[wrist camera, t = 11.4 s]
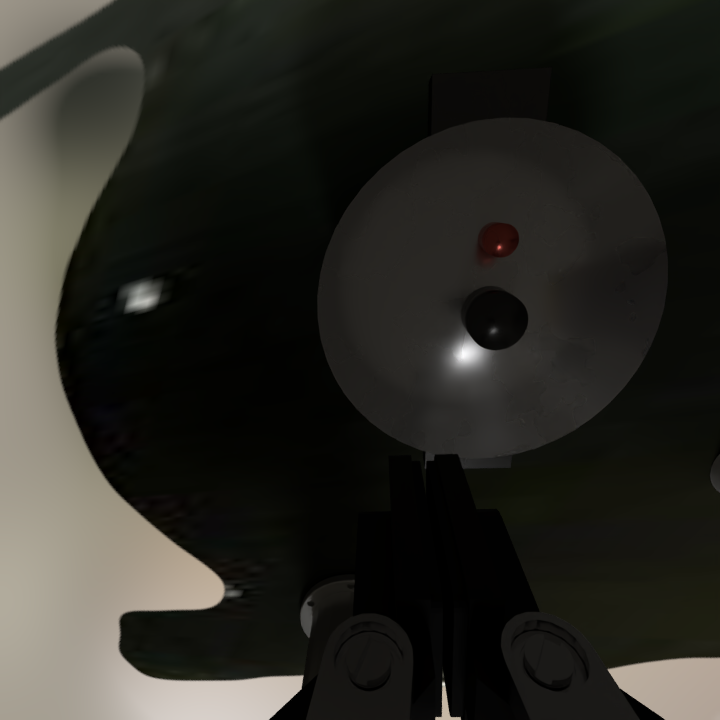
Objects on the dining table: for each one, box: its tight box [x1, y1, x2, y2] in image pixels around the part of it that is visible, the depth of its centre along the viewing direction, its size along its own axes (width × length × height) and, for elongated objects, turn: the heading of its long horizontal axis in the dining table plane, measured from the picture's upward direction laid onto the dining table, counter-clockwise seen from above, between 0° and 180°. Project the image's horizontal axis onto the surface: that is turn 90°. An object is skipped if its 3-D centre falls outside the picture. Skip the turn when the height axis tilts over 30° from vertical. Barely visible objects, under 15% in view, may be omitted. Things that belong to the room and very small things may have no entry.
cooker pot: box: [423, 67, 552, 469], centre depth 30 cm, size 24×20×12 cm
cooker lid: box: [317, 118, 668, 459], centre depth 23 cm, size 19×19×3 cm
